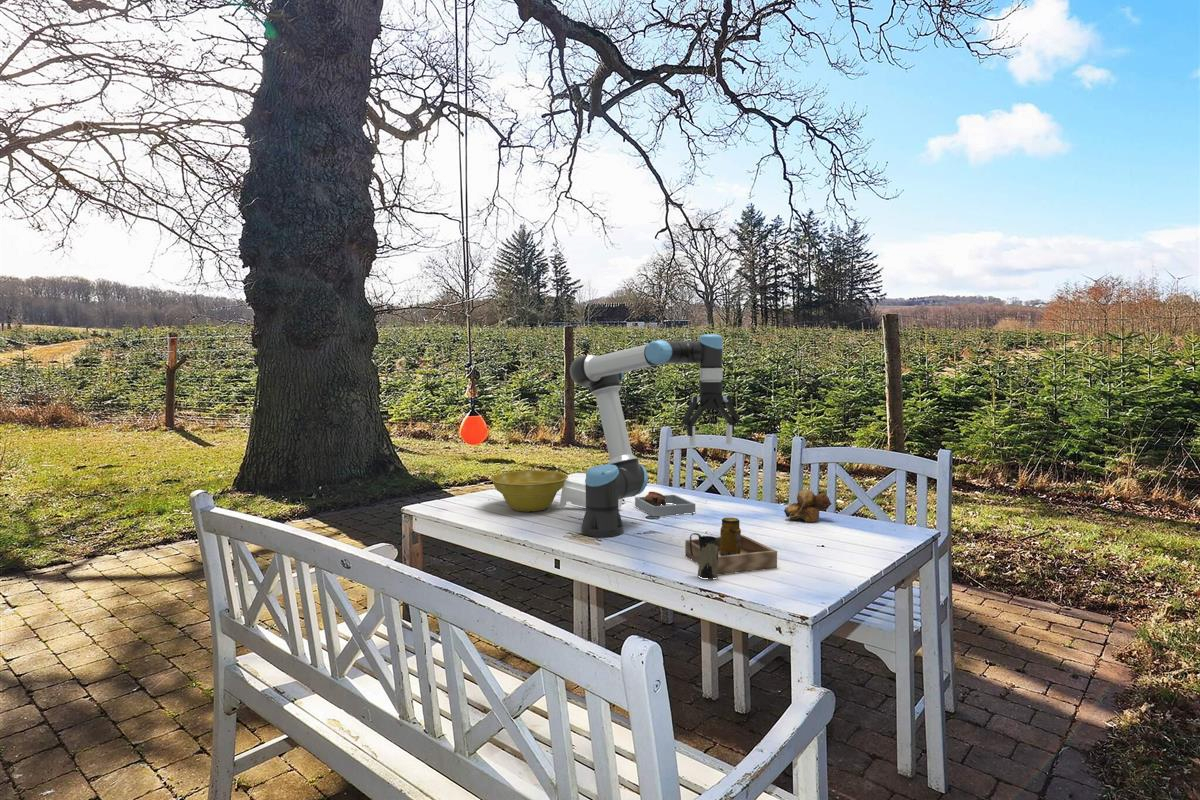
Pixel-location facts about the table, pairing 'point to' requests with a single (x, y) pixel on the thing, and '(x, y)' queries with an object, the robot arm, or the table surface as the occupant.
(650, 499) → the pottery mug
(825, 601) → the table surface
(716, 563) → the mug
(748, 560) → the walnut box
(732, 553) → the condiment
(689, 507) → the slate tray rim
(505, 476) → the planter bowl
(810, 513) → the seed pod
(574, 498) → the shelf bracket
